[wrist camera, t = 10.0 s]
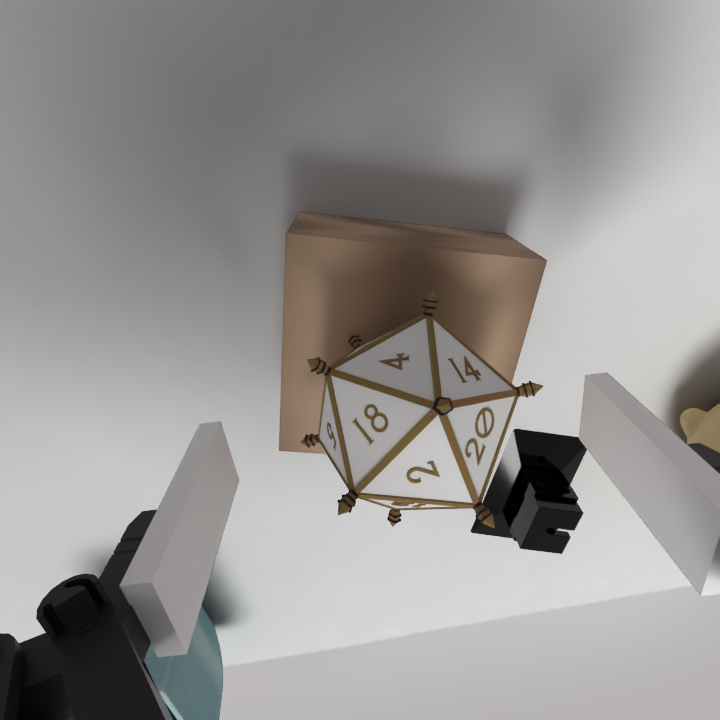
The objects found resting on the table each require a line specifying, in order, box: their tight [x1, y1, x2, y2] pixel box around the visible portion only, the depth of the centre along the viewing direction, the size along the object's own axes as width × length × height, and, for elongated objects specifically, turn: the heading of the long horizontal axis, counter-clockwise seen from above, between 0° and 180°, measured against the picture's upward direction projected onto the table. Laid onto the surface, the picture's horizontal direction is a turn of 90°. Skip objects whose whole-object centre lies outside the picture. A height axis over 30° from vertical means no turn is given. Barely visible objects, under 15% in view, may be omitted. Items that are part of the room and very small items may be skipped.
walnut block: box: [279, 212, 547, 454], centre depth 24 cm, size 11×11×6 cm
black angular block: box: [471, 429, 587, 554], centre depth 31 cm, size 12×7×5 cm, turn 169°
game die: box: [300, 290, 543, 528], centre depth 18 cm, size 9×8×10 cm
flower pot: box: [67, 605, 223, 720], centre depth 33 cm, size 9×9×9 cm
